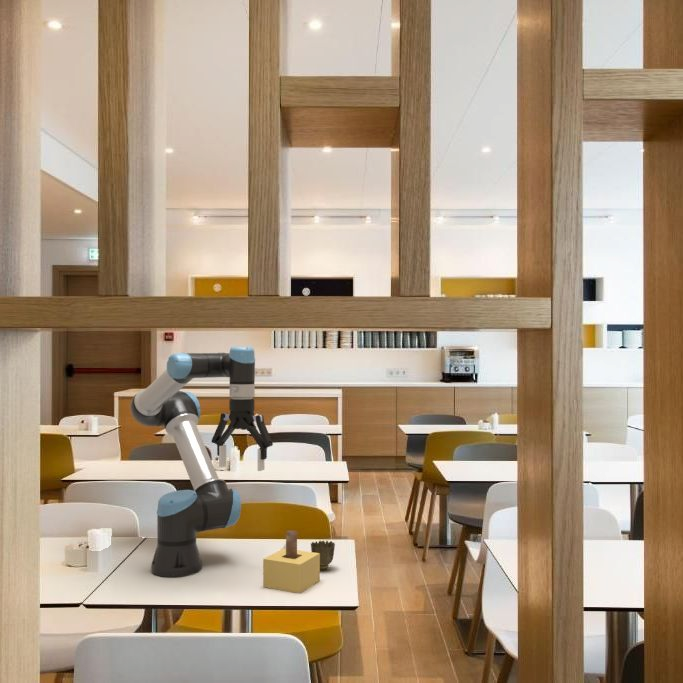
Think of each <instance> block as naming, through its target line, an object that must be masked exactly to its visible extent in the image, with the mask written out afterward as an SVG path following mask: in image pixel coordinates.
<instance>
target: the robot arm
mask: <svg viewBox="0 0 683 683" xmlns="http://www.w3.org/2000/svg"><path fill="white" fill-rule="evenodd" d="M255 355H256V354H255V349H254V347H251V346H232V347H231V348H230V349H229V352H201V353H199V352H198V353H197V352H196V353H195V352H180V353H179V352H178V353H172V354H170V355H169V357H168V360H167V361H166V369H165V370H164V371H163V372H161V374H160V375H159V376H157V378H155V379H154V380H153V382H151V384H149V385H148V386H147V387H146V388H143V389H141V390H139V391H137V393H135V395H133V397H132V399H131V401H130V405H129V406H130V407H129V409H130V413H131V416H132V417H133V419H135V421H136V422H138V423H139V424H141V425H143V426H146V427H153V428H154V427H164V429H165V432H166V434H167V435H169V436H172V438H173V440H174V442H175V446H176V448H177V450H178V452H179V455H180V458H181V460H182V463H183V465H184V467H185V471H186V473H187V475H188V477H189V480H190V483H191V485H192V489H183V490H182V489H180V490H174V491H171V492H167V493H166V494H163V495H162V496H160V497H159V499H158V501H157V511H156V515H157V516H156V517H157V518H156V519H157V520H156V521H157V522H156V524H157V526H156V528H157V533H156V534H157V540H156V542H157V545H156V549H155V552H154V555H153V558H152V561H151V565H150V571H151V573H152V574H154V575H156V576H159V577H165V578H177V577H186V576H187V577H188V576H191V575H194V574H197V573H199V572H200V571H201V570H202V569H203V561H202V558H201V555H200V551H199V548H198V545H197V533H200V532H206V531H212V530H218V529H225V528H228V527H233V526H234V525H235V524H237V522H238V521H239V518H240V516H241V511H242V500H241V496H240V493H239V491H238V490H237V489H234V488H233V487H231V488H229V487H228V485H227V483H226V482H227V481H225V480H224V479H221V478H219V475H218V474H217V471H216V469H215V466H214V465H213V464H214V463H213V462H212V459H211V457H210V455H209V453H208V450H207V448H206V445H205V443H204V439H203V438H202V436H201V433H200V431H199V428H198V424H199V420H200V418H201V409H200V408H201V405H200V401H199V399H198V398H197V397H196V395H195V394H194V393H192V392H191V391H183V390H181V389H182V388H184V387H185V386H186V385H187V384H189V382H190V381H192V380H193V379H206V378H229V398H230V399H229V400H228V402H229V403H228V404H229V407H228V409H229V411H230V413H229V412H223V413H221V414H220V417H219V418H220V419H219V421H218V424H217V426H216V429H215V432H214V434H213V437H212V439H211V443H212V444H215V445H216V447H217V448H216V449H217V450H216V451H217V453H216V454H217V456H218V467H219V468H224V467H227V444H226V442H227V440H229V438H230V436H231V435H232V434H233V433H234V431H235V430H247V432H249V434H250V435H251V437H252V438H253V439H254V441H255V443H256V444H257V445H258V447H259V448H257V472H262V471H264V470H265V460H266V459H267V458H268V456H267V455H268V453H267V452H268V451H267V450H268V448H269V447H272V446H274V443H273V440H272V438H271V435H270V433H269V430H268V429H267V426H266V424H265V418H264V414H258V415H255V399H254V398H253V397H255V396H256V394H255V388H256V387H255V379H256V378H255V375H256V374H255V372H256V371H255V370H256V358H255ZM229 421H230V423H229V424H228V422H229ZM254 422H255V423H254ZM227 424H228V425H227ZM226 426H227V428H226ZM258 430H259V431H258Z"/></svg>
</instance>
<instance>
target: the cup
mask: <svg viewBox="0 0 683 683" xmlns="http://www.w3.org/2000/svg"><path fill="white" fill-rule="evenodd" d="M335 545H336V544H335V542H333V541H329V540H319V541H315V542H314V541H312V542H311V543H310V549H311V551H310V552H314V553H320V571H327V570H328V569H329V565H330V564H332V562H333V559H334V557H335V556H334V555H335Z"/></svg>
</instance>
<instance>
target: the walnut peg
mask: <svg viewBox="0 0 683 683" xmlns="http://www.w3.org/2000/svg"><path fill="white" fill-rule="evenodd" d="M285 543H286V558H290V559H296V558H297V550H298V531H297V530H293V529H292V530H287V531H285Z"/></svg>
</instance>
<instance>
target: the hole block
mask: <svg viewBox="0 0 683 683" xmlns="http://www.w3.org/2000/svg"><path fill="white" fill-rule="evenodd" d="M262 562H263V564H262V568H263V569H262V571H263V572H262V575H263V578H262V580H263V581H262V582H263V583H262V587H263V586H264V587H263V588H266V587H268V589H272V588H273V590H280V591H285V592H290V593H297V594H302V593H303V592H305V591H306V590H308V589H309V588H311V587H312V586H314V585H315V584H317V583H318V582H320V580H321V579H320V574H321V570H320V553H314V552H312V551H306V550H299V549H297V558H296V559H290V558H286V548H284V549H282V550H281V549H280V550H278V551H276V552H274V553H272V554H269V555H268V556H266V557H264V558H263V560H262ZM304 590H305V591H304Z"/></svg>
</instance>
